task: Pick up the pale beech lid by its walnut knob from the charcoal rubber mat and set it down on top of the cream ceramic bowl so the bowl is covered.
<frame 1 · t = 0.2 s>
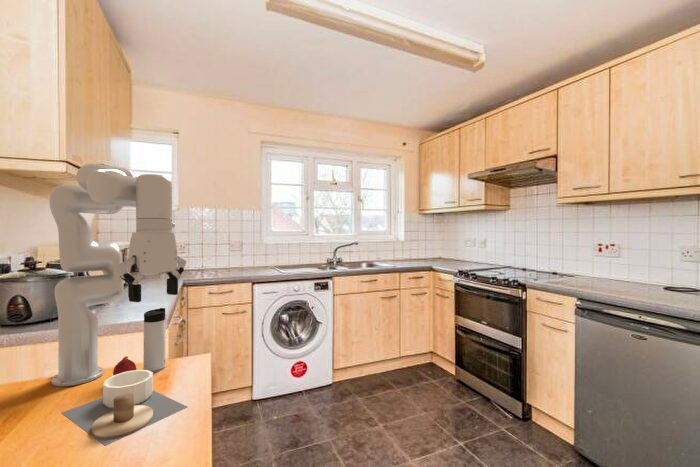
hand: (154, 297, 80), 30 cm above the table, tool pointing down, fingers open, 9 cm apart
bowl: (129, 398, 90), resting on mat
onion: (124, 383, 101), on the table
lid: (123, 422, 79), point 1 cm above the table, touching mat
travel mug: (155, 370, 110), on the table
mat: (125, 412, 85), on the table
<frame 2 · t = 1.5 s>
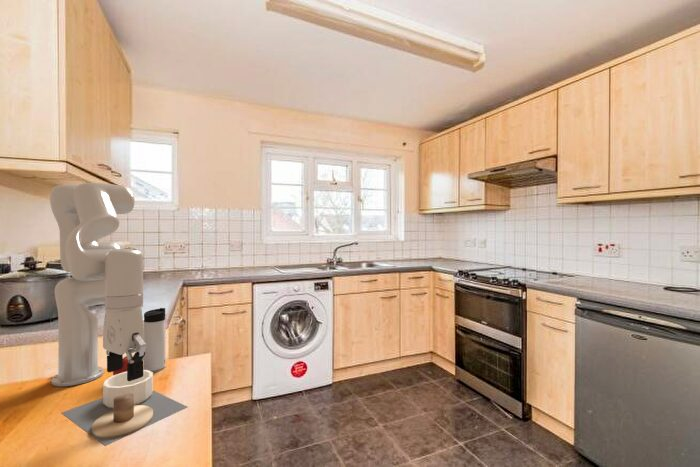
hand: (124, 374, 79), 12 cm above the table, tool pointing down, fingers open, 9 cm apart
nothing on the table moved.
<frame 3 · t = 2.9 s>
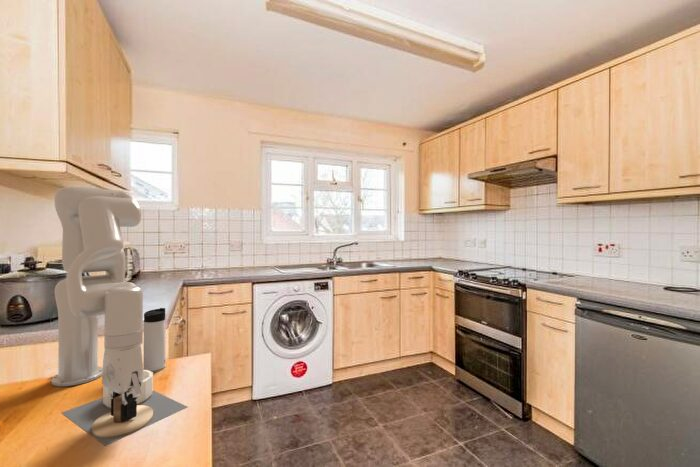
hand: (123, 415, 79), 2 cm above the table, tool pointing down, fingers closed on lid, 4 cm apart
lid: (123, 422, 79), point 1 cm above the table, touching gripper, mat
everything else where it was.
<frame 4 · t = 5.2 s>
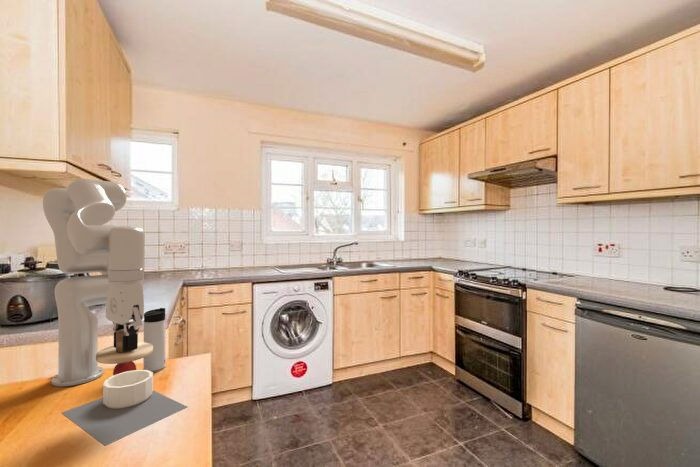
hand: (125, 347, 84), 17 cm above the table, tool pointing down, fingers closed on lid, 4 cm apart
lid: (125, 354, 84), point 15 cm above the table, touching gripper
everything else where it was.
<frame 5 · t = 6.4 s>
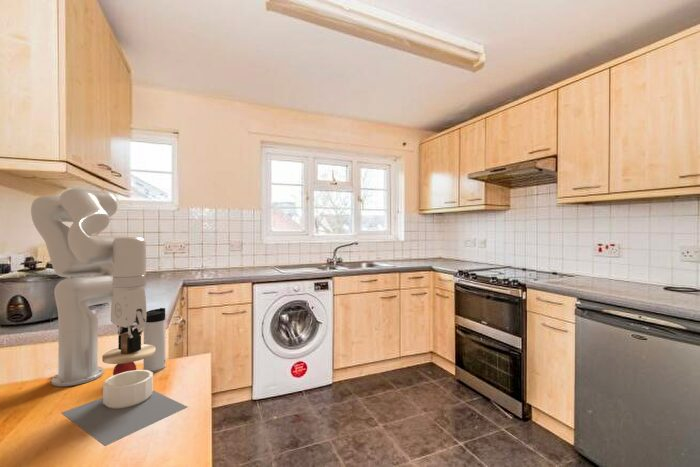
hand: (129, 349, 90), 14 cm above the table, tool pointing down, fingers closed on lid, 4 cm apart
lid: (129, 355, 90), point 12 cm above the table, touching gripper
everything else where it was.
when the fingers open (9 cm above the table, at t = 7.5 s): lid drops 1 cm, resting on bowl.
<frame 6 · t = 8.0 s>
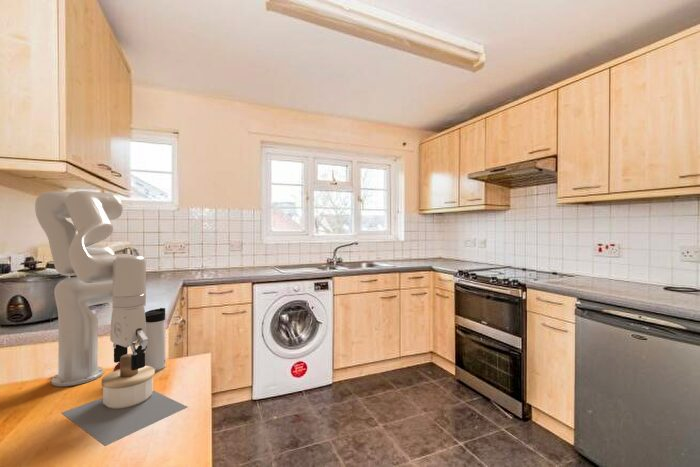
hand: (129, 364, 90), 10 cm above the table, tool pointing down, fingers open, 9 cm apart
lid: (129, 378, 90), point 6 cm above the table, touching bowl
everything else where it was.
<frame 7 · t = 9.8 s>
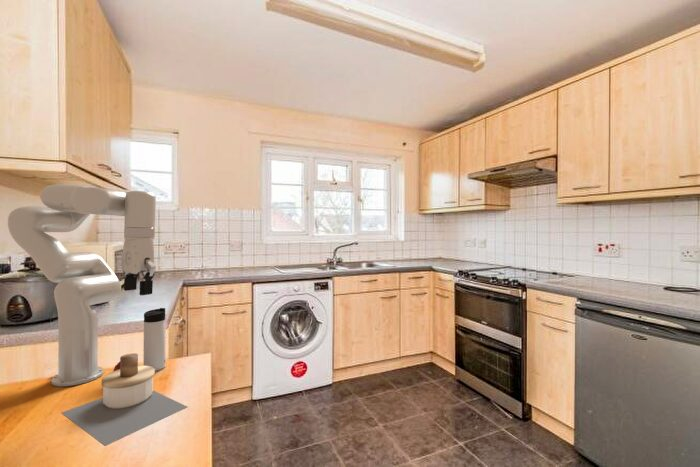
hand: (137, 292, 97), 28 cm above the table, tool pointing down, fingers open, 9 cm apart
nothing on the table moved.
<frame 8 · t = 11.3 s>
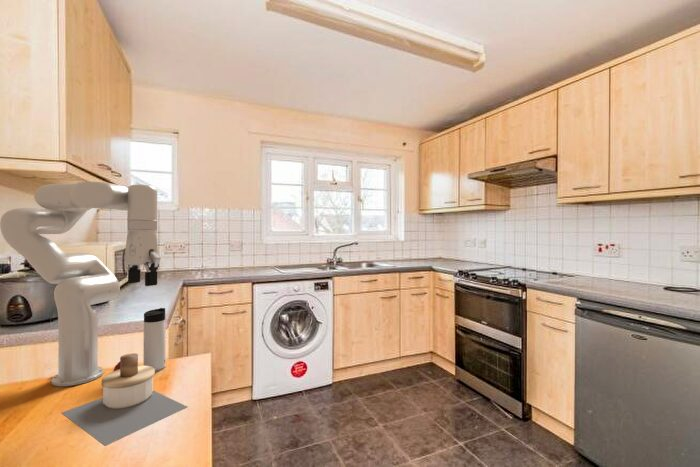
hand: (142, 284, 99), 30 cm above the table, tool pointing down, fingers open, 9 cm apart
nothing on the table moved.
at the end: lid 0.1 cm off-centre on the bowl, point 5.5 cm above the bowl's base; lid tilted 0°; the gripper is holding nothing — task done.
